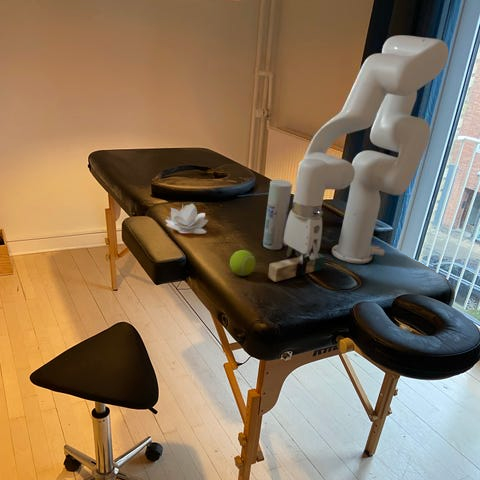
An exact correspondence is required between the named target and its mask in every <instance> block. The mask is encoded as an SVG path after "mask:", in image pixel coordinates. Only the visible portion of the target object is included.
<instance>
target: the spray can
mask: <svg viewBox="0 0 480 480" xmlns="http://www.w3.org/2000/svg"><path fill="white" fill-rule="evenodd" d="M292 188H293V183H292V182H291V181H289V180H285V179H272V180H270V181H269V190H268V197H267V207H266V216H265V223H264V230H263V231H264V232H263V240H262V245H263V247H264V248H266V249H269V250H280V249H282V248H283V246H284V244H283V242H282V239H283V238H284V233H285V228H286V223H287V220H288V215H289V207H290V200H291V195H292Z"/></svg>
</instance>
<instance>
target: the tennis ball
mask: <svg viewBox="0 0 480 480" xmlns="http://www.w3.org/2000/svg"><path fill="white" fill-rule="evenodd" d="M256 264H257V262H256V258H255V256H254V255H253V253H252V252H250V251H248V250H246V249H240V250H237V251H235V252H233V253H232V255H231V257H230V259H229V266H230V269H231V271H232V272H233V273H234V274H235V275H237V276H240V277H245V276H249V275H250V274H251V273H253V272H254V270H255V268H256Z"/></svg>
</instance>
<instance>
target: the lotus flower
mask: <svg viewBox="0 0 480 480" xmlns="http://www.w3.org/2000/svg"><path fill="white" fill-rule="evenodd" d="M205 218H206V212H200V213H198V211H197V207H196V206H195V205H194V204H193V203H190V204H186V205H184V204H183V203H182V205H181V209H180V210H179V209H176V208H173V207H170V217H169V216H167V219H165V222H166V224H165V227H168V228H169V229H172V230H175V231H177V232H178V233H180V234H194V235H203V234H206V233H207V231H206V229H203V227H204V226H206V225H207V223H208V222H209V220H208V219H205Z"/></svg>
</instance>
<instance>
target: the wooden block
mask: <svg viewBox="0 0 480 480" xmlns="http://www.w3.org/2000/svg"><path fill="white" fill-rule="evenodd" d="M317 254H318V259H315V260H311V261H310V262H308V263H307V267H306V272H305V274H308V273H312V272H317V271H321V270H323V268H324V263H325V259H326V256H324V255H323V254H321V253H320V252H317ZM310 256H311V253H310ZM305 257H306V255H305V256H304V258H305ZM299 262H300V255H299V256H297V257H295V258H291V259H288V258H287V259H284V260H279V261H276V262H272V263H269V266H268V273H267V278H268V279H270V280H271V281H273V282H274V283H275V282H276V283H277V282H279V281H283V280H287V279H291V278H294V277H297V276H296V270H297V264H298V263H299ZM305 274H304V275H305Z"/></svg>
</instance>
